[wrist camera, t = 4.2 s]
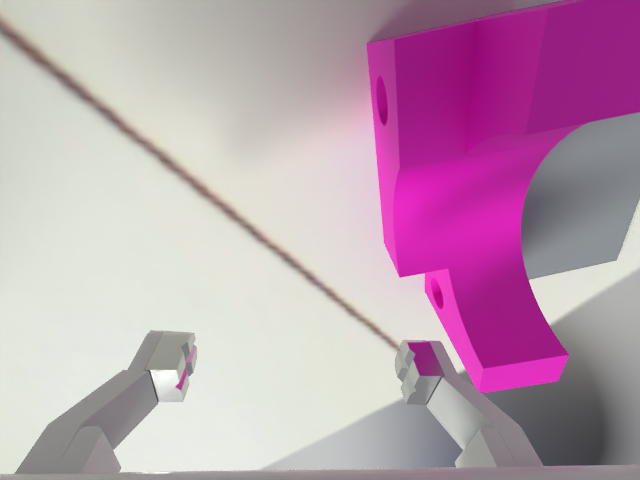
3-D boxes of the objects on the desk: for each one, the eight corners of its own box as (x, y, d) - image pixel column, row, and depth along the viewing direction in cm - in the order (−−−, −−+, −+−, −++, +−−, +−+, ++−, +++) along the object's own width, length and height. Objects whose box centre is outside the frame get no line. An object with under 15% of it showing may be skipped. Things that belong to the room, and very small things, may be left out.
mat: (491, 284, 20) (493, 287, 20) (511, 50, 13) (515, 50, 13) (612, 257, 20) (616, 260, 20) (706, -4, 12) (714, -6, 12)
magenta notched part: (365, 43, 13) (431, 34, 6) (512, 10, 12) (732, -34, 6) (388, 295, 21) (426, 402, 14) (477, 279, 20) (558, 380, 14)
